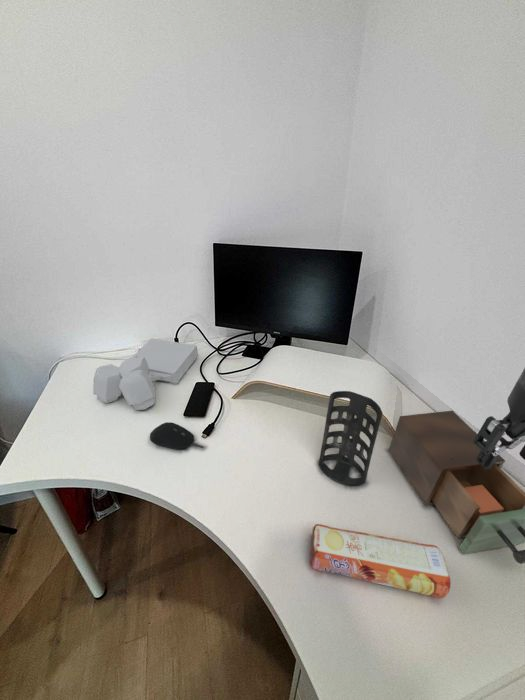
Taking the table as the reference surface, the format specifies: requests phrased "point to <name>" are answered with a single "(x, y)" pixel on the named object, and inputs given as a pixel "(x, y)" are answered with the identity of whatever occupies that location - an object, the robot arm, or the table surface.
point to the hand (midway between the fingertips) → (504, 462)
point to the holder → (349, 445)
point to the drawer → (460, 509)
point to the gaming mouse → (172, 436)
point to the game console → (144, 372)
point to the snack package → (380, 560)
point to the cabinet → (433, 449)
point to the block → (483, 502)
